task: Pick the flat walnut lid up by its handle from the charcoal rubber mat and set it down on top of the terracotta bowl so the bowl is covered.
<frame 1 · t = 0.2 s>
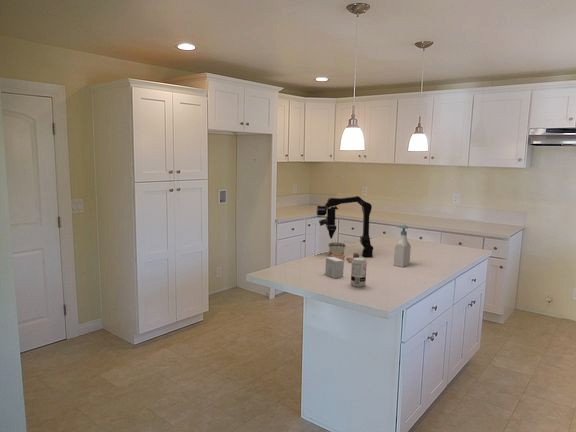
hand: (330, 237, 301), 14 cm above the table, tool pointing down, fingers open, 9 cm apart
rubber mat: (356, 261, 290), on the table
supplement can: (357, 285, 237), on the table
skincare box: (334, 276, 255), on the table
food container: (336, 257, 303), on the table
walnut lid: (356, 261, 290), point 1 cm above the table, touching rubber mat
soap bottle: (400, 265, 285), on the table
terracotta bowl: (337, 261, 289), on the table
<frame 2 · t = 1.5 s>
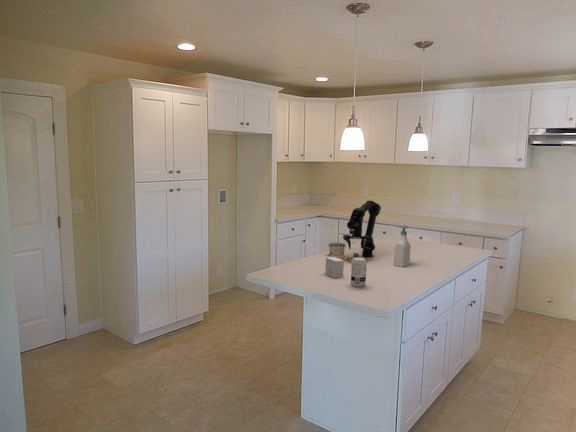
hand: (356, 249, 289), 8 cm above the table, tool pointing down, fingers open, 9 cm apart
nothing on the table moved.
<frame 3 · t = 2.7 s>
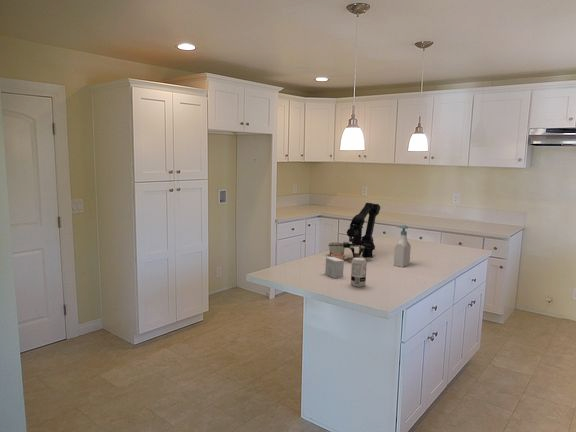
hand: (356, 257, 289), 3 cm above the table, tool pointing down, fingers closed on walnut lid, 3 cm apart
walnut lid: (356, 261, 290), point 1 cm above the table, touching gripper, rubber mat
everything else where it was.
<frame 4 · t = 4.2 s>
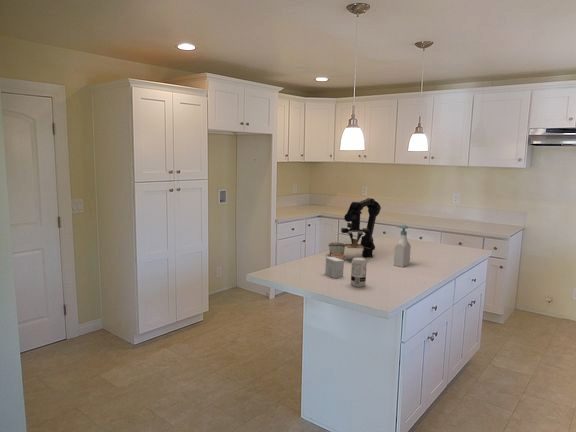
hand: (354, 243, 288), 13 cm above the table, tool pointing down, fingers closed on walnut lid, 3 cm apart
walnut lid: (354, 246, 288), point 11 cm above the table, touching gripper
everything else where it was.
when the fingers open (8 cm above the table, at t = 5.9 s): walnut lid drops 1 cm, resting on terracotta bowl.
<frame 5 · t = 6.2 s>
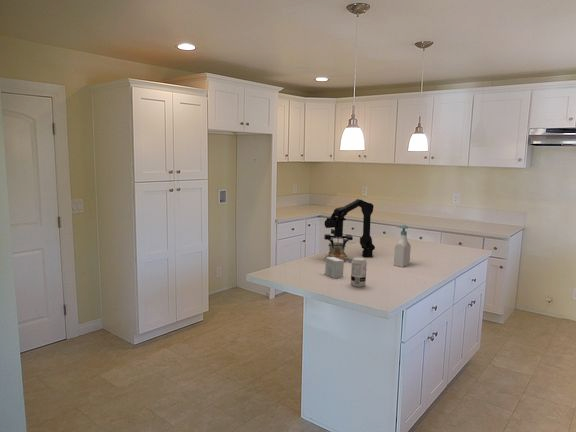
hand: (337, 249, 288), 8 cm above the table, tool pointing down, fingers open, 6 cm apart
walnut lid: (337, 255, 289), point 4 cm above the table, touching terracotta bowl
everything else where it was.
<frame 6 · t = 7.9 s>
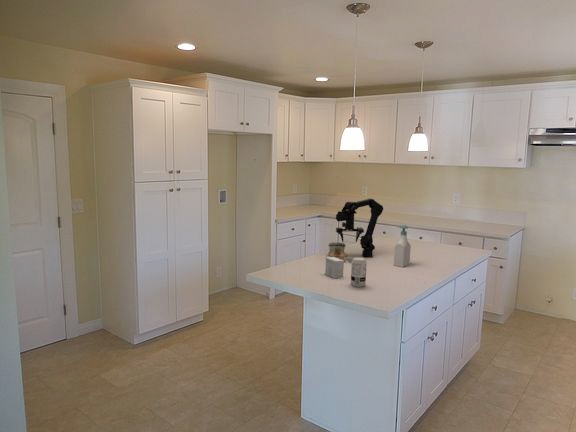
hand: (349, 242, 293), 13 cm above the table, tool pointing down, fingers open, 9 cm apart
nothing on the table moved.
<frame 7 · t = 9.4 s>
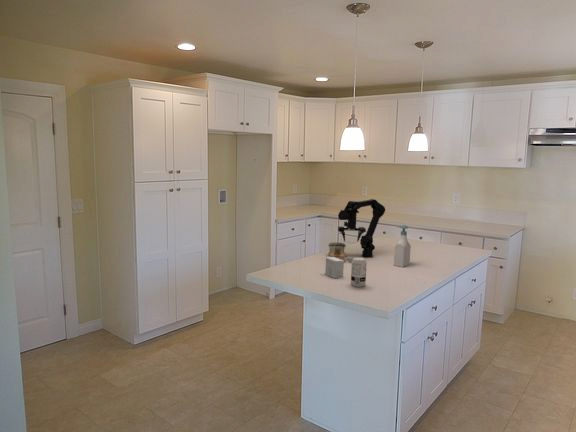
hand: (351, 241, 294), 13 cm above the table, tool pointing down, fingers open, 9 cm apart
nothing on the table moved.
at the end: walnut lid 0.1 cm off-centre on the terracotta bowl, point 4.5 cm above the terracotta bowl's base; walnut lid tilted 0°; walnut lid touching terracotta bowl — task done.
